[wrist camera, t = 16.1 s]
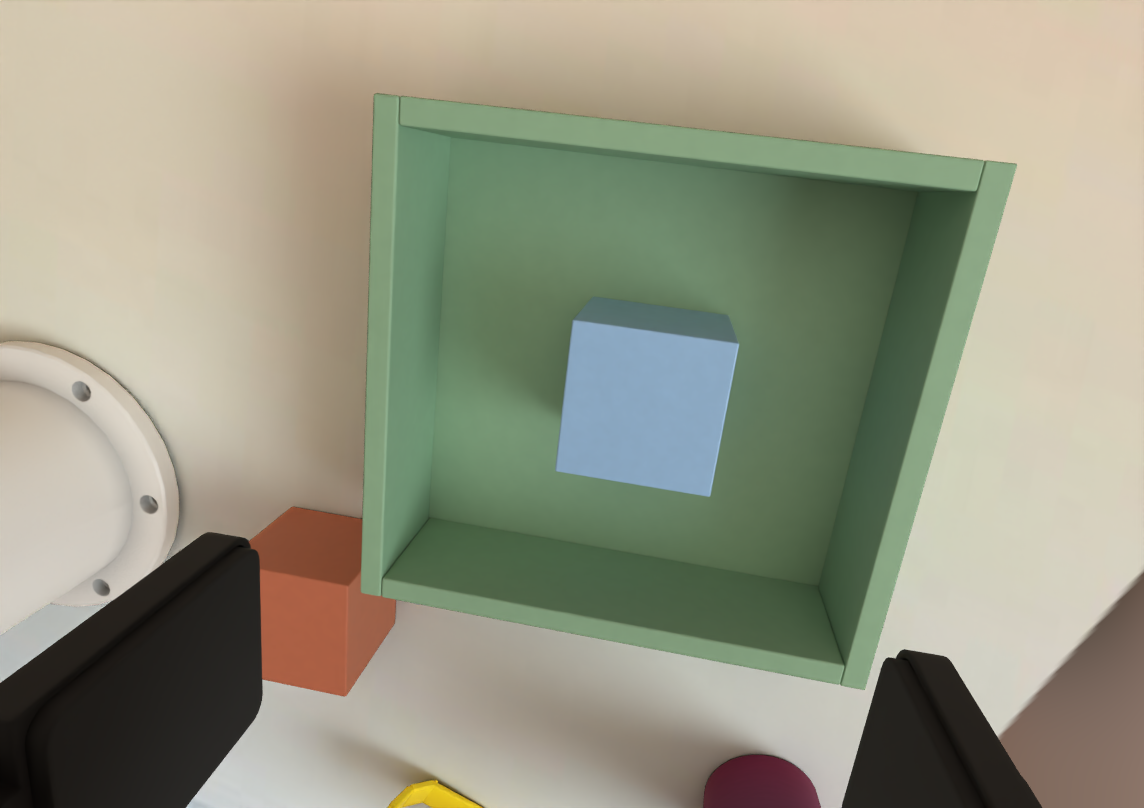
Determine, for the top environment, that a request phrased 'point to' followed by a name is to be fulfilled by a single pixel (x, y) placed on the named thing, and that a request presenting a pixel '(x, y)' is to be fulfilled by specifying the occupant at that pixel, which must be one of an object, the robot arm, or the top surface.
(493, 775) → the top surface
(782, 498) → the toy bin
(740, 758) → the cup
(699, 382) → the blue block
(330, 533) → the terracotta block
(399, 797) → the watch
